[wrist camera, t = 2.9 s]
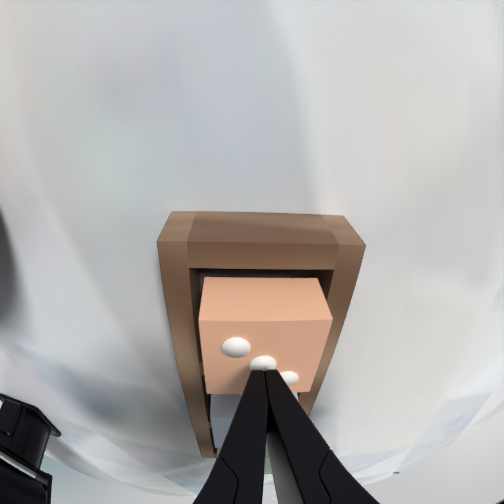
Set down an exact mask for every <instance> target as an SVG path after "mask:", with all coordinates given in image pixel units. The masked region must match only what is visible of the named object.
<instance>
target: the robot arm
mask: <svg viewBox="0 0 504 504" xmlns="http://www.w3.org/2000/svg"><path fill="white" fill-rule="evenodd" d="M0 400H1V401H2V402H3V404H2V406H1V408H0V455H2V456H3V457H4V458H6V459H7V460H9V461H11V462H12V463H14V464H15V465H17V466H19V467H20V468H22V469H24V470H26V471H27V472H29V473H31V474H33V475H34V476H36V477H35V478H33V477H31V476H29V475H27V474H26V473H24V472H22V471H20V470H19V469H17V468H15V467H14V466H12V465H10V464H9V463H7V462H6V461H4V460H3V459H1V458H0V504H51V486H52V475H50V474H48V473H45V472H43V471H41V470H40V466H41V463H42V459H43V455H44V452H45V449H46V446H47V442H48V439H49V436H50V435H53V436H56V437H60V436H61V434H60V433H59V432H58V431H57V430H56V429H55V428H54V427H53V426H52V424H51V423H50V422H49V421H48V420H47V419H46V418H45V417H44V416H43V415H42V414H41V412H40V411H39V410H38V409H37V408H35V407H33V406H30V405H27V404H25V403H22V402H19V401H17V400H14V399H11V398H9V397H7V396H4V395H2V394H0ZM266 442H267V448H268V453H269V458H270V464H271V469H272V474H273V479H274V484H275V489H276V494H277V499H278V504H380V503H379V502H378V501H376V500H375V499H374V498H373V497H372V496H371V495H370V494H369V493H368V492H367V491H366V490H365V489H364V488H363V487H362V486H361V485H360V484H359V483H358V482H357V481H356V480H355V478H354V477H353V476H352V475H351V474H350V473H349V472H348V471H347V470H346V468H345V467H344V466H343V465H342V463H341V462H340V461H339V459H338V458H337V457H336V455H335V454H334V452H333V451H332V450H331V449H330V447H329V446H328V444H327V443H326V441H325V440H324V438H323V437H322V436H321V434H320V433H319V431H318V430H317V428H316V427H315V425H314V424H313V422H312V421H311V419H310V418H309V417H308V415H307V414H306V412H305V411H304V409H303V408H302V406H301V405H300V403H299V402H298V400H297V399H296V397H295V396H294V394H293V393H292V391H291V390H290V388H289V387H288V385H287V384H286V382H285V380H284V379H283V377H282V376H281V374H280V373H279V371H278V370H277V369H265V370H262V369H253V370H251V372H250V374H249V377H248V380H247V382H246V385H245V388H244V390H243V393H242V396H241V398H240V401H239V404H238V406H237V409H236V411H235V414H234V417H233V419H232V422H231V424H230V427H229V429H228V432H227V434H226V437H225V439H224V442H223V444H222V447H221V449H220V452H219V454H218V455H219V456H218V457H217V459H216V461H215V464H214V466H213V468H212V471H211V473H210V475H209V477H208V479H207V481H206V483H205V484H204V486H203V488H202V490H201V491H200V493H199V494H198V496H197V498H196V499H195V501H194V502H193V504H262V495H263V482H264V468H265V453H266ZM329 449H330V450H329ZM496 504H504V499H503V500H501V501H499V502H498V503H496Z"/></svg>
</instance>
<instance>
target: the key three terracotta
mask: <svg viewBox="0 0 504 504" xmlns="http://www.w3.org/2000/svg"><path fill="white" fill-rule="evenodd" d="M332 321H333V318H332V315H331V313H330V310H329V307H328V305H327V302H326V300H325V297H324V294H323V292H322V289H321V287H320V284H319V281H318V279H317V278H231V277H205V278H204V285H203V291H202V298H201V305H200V313H199V330H200V340H201V349H202V358H203V367H204V375H205V383H206V390H207V394H242V393H243V390H244V388H245V385H246V382H247V380H248V377H249V374H250V372H251V370H253V369H262V370H265V369H277V370H278V371H279V373H280V374H281V376H282V377H283V379H284V380H285V382H286V384H287V385H288V387H289V388H290V390H291V391H292V393H296V392H309V391H310V389H311V386H312V383H313V380H314V377H315V374H316V371H317V368H318V365H319V362H320V359H321V356H322V353H323V350H324V347H325V344H326V341H327V337H328V334H329V331H330V327H331V324H332Z"/></svg>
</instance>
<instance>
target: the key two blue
mask: <svg viewBox="0 0 504 504" xmlns="http://www.w3.org/2000/svg"><path fill="white" fill-rule="evenodd" d="M293 394H294V396H295V397H296V399H297V400H298V395H297V392H296V393H293ZM241 396H242V394H211V410H210V419H211V425H212V431H213V438H214V444H215V448H221V447H222V444H223V442H224V439H225V437H226V434H227V432H228V429H229V427H230V424H231V422H232V419H233V417H234V414H235V411H236V409H237V406H238V404H239V401H240V398H241ZM298 402H299V401H298ZM266 447H267V442H266Z"/></svg>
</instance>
